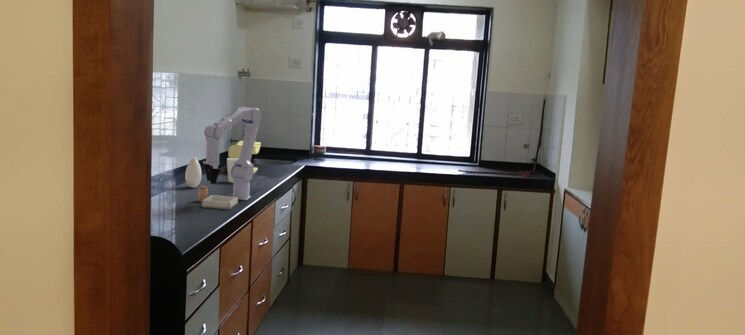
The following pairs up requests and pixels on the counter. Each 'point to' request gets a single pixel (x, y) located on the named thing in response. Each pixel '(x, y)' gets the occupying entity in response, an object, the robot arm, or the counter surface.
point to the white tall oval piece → (193, 173)
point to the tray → (220, 202)
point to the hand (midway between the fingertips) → (211, 182)
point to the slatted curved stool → (236, 150)
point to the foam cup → (229, 165)
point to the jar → (202, 193)
